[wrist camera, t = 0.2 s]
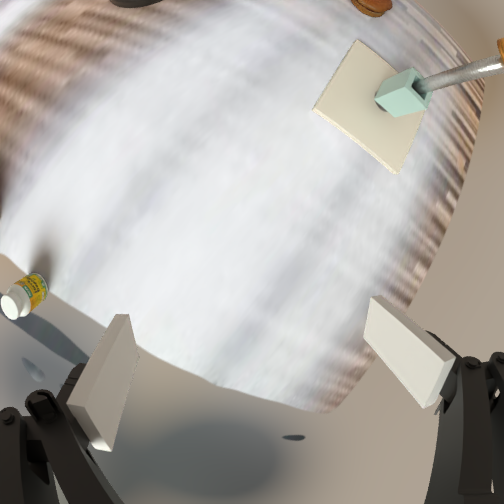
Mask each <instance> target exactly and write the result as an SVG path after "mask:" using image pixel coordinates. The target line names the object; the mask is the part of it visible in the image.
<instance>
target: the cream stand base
mask: <svg viewBox="0 0 504 504" xmlns="http://www.w3.org/2000/svg"><path fill="white" fill-rule="evenodd" d="M397 74H399V73H398V72H397V71H396V70H395V69H394V68H392V67H391V66H390V65H389V64H388V63H387V62H386V61H384V60H383V59H382V58H381V57H380V56H378V55H377V54H376V53H375V52H373V51H372V50H371V49H370V48H368V47H367V46H366V45H364V44H363V43H362V42H360V41H359V40H358V39H357V40H356V41H355V42H353V44H352V46H351V47H350V49H349V50H348V52H347V53H346V55H345V57H344V58H343V60H342V61H341V63H340V65H339V66H338V68H337V70H336V71H335V73H334V74H333V76H332V78H331V79H330V81H329V82H328V84H327V86H326V87H325V89H324V91H323V92H322V94H321V96H320V97H319V99H318V100H317V102H316V104H315V105H314V107H313V109H312V111H313V112H315V113H316V114H318V115H319V116H321V117H322V118H323V119H325V120H326V121H328V122H329V123H331V124H332V125H333V126H335V127H336V128H337V129H339V130H340V131H341V132H343V133H344V134H345V135H347V136H348V137H349V138H351V139H352V140H353V141H355V142H356V143H357V144H358V145H360V146H361V147H362V148H363V149H365V150H366V151H367V152H368V153H369V154H371V155H372V156H373V157H374V158H375V159H377V160H378V161H379V162H380V163H381V164H382V165H384V166H385V167H386V168H387V169H388V170H389V171H390V172H391V173H393V174H399V172H400V170H401V168H402V165H403V163H404V161H405V159H406V156H407V154H408V152H409V149H410V147H411V145H412V142H413V140H414V137H415V135H416V133H417V130H418V127H419V125H420V122H421V120H422V117H423V115H424V112H425V110H421V111H417V112H414V113H410V114H406V115H403V116H399V117H395V118H394V117H393V116H392V115H391V114H390V113H389V112H384V111H382V110H381V109H380V108H379V107H378V106H377V104H376V102H375V100H374V98H375V93H376V92H377V91H378V90H379V88H380V86H381V84H382V82H383V81H384V80H386V79H388V78H390V77H392V76H394V75H397Z"/></svg>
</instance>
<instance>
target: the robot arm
mask: <svg viewBox="0 0 504 504" xmlns="http://www.w3.org/2000/svg"><path fill="white" fill-rule="evenodd" d="M110 1H111V2H112V3H113V4H114V5H116V6H119V7H124V8H136V7H143V6H147V5H151V4H154V3H157V2H160V1H162V0H110ZM363 338H364V339H365V340H366V341H367V342H368V343H369V345H370V346H371V347H372V348H373V349H374V350H375V352H376V353H377V354H378V355H379V356H380V358H382V360H383V361H384V362H385V363H386V364H387V366H388V367H389V368H390V369H391V370H392V372H393V373H394V374H395V375H396V376H397V378H398V379H399V380H400V381H401V382H402V384H403V385H404V386H405V387H406V388H407V390H408V391H409V392H410V393H411V394H412V396H413V397H414V398H415V399H416V401H417V402H418V403H419V404H420V405H421V407H422V408H425V407H427V406H430V405H432V404H434V403H435V401H436V399H437V397H438V395H439V394H440V395H441V396H442V397H443V399H442V401H441V402H440V404H439V406H438V408H437V410H436V411H435V415H436V414H437V413H438V411H439V410H440V414H439V415H440V416H439V427H438V436H437V444H436V451H435V457H434V463H433V468H432V473H431V478H430V483H429V487H428V491H427V495H426V499H425V503H424V504H504V353H502V352H495V353H493V354H492V355H491V358H490V360H489V361H488V362H483V363H482V362H480V360H478V359H477V358H475V357H471V356H469V357H468V356H467V357H463V358H462V357H461V356H460V355H458V354H457V353H456V352H455V351H454V350H453V349H451V348H450V347H449V346H448V345H446V344H445V343H444V342H443V341H441V339H440V338H438V337H437V336H436V335H435V334H433V333H431V332H429V331H425V330H423V329H422V328H421V327H420V326H419V325H418V324H416V323H415V322H414V321H413V320H412V319H410V318H409V317H408V316H407V315H405V314H404V313H403V312H402V311H401V310H399V309H398V308H397V307H396V306H394V305H393V304H392V303H391V302H389V301H388V300H387V299H386V298H384V297H383V296H382V295H380V296H373V297H371V299H370V305H369V310H368V316H367V321H366V326H365V331H364V336H363ZM138 360H139V353H138V349H137V346H136V342H135V338H134V334H133V330H132V326H131V321H130V317H129V314H116V315H115V316H114V318H113V320H112V321H111V323H110V325H109V326H108V328H107V330H106V331H105V333H104V335H103V336H102V338H101V340H100V342H99V343H98V345H97V347H96V349H95V350H94V352H93V354H92V356H91V357H90V359H89V361H88V363H87V364H83V363H79V364H78V365H77V366H76V367H75V368H73V369H72V371H71V372H70V374H69V376H68V379H66V381H65V383H64V385H63V386H62V388H61V390H60V392H59V394H58V396H57V397H56V399H55V397H54V395H53V394H52V392H50V391H48V390H43V389H41V390H36V391H34V392H32V393H31V394H30V395H29V396H28V397H27V399H26V401H25V407H26V408H27V410H28V411H29V413H30V414H31V416H21V414H20V413H19V411H18V410H17V409H16V408H14V407H7V408H4V409H3V410H1V411H0V504H59V500H58V495H57V490H56V486H55V480H54V476H53V472H54V474H55V476H56V479H57V481H58V483H59V485H60V487H61V489H62V491H63V493H64V495H65V497H66V499H67V501H68V503H69V504H124V503H123V501H122V500H121V499H120V497H119V496H118V494H117V493H116V492H115V490H114V489H113V487H112V486H111V485H110V483H109V482H108V480H107V479H106V477H105V476H104V474H103V472H102V471H101V469H100V468H99V466H98V464H97V463H96V461H95V459H94V458H93V456H92V454H91V452H90V451H89V450H88V448H87V447H88V444H89V441H90V442H91V444H92V445H93V446H94V448H95V449H100V450H106V451H112V448H113V445H114V440H115V437H116V433H117V429H118V426H119V422H120V418H121V415H122V411H123V408H124V405H125V401H126V398H127V395H128V391H129V387H130V385H131V381H132V378H133V375H134V372H135V369H136V366H137V363H138ZM497 389H499V391H500V394H499V396H498V397H497V398H496V397H495V393H496V391H497ZM492 480H493V487H494V493H492V492H491V484H492Z"/></svg>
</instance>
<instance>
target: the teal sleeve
mask: <svg viewBox="0 0 504 504" xmlns="http://www.w3.org/2000/svg"><path fill="white" fill-rule="evenodd" d="M421 79H424V77H423V76H422V75H421V74H420V73H419V72H418V71H417V70H416V69H415V68H414V67H412V68H409V69H407V70H405V71H403V72H401V73H399V74H397V75H394V76H392V77H390V78H388V79H386V80H384V81H383V82H382V84H381V86H380V88H379V90H378V92H377V94H376V96H375V98H374V100H375V101H376V102H377V103H379V104H380V105H381V106H382V107H383V108H384V109H385V110H387V111H388V112H389V113H390V114H391V115H392V116H393V117H394V118H395V117H399V116H403V115H406V114H410V113H414V112H417V111H421V110H425V109H427V107H428V105H429V102H430V99H431V96H432V93H433V91H431V92H428V93H425V94H421V95H419V94H418V93H417V92H416V91H415V90H414V89H413V88H412V87H411V86H412V83H414V82H416V81H419V80H421Z"/></svg>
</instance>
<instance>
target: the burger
mask: <svg viewBox="0 0 504 504" xmlns="http://www.w3.org/2000/svg"><path fill="white" fill-rule="evenodd" d="M351 1H352V3H353V4H354V6H356V8H358V9H359V10H360V11H361V12H362V13H364V14H366V15H369V16H371V17H380V16H382V15H383V14H384V12H385V11H387V10H390V9H391V8H392V2H391V0H351Z"/></svg>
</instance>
